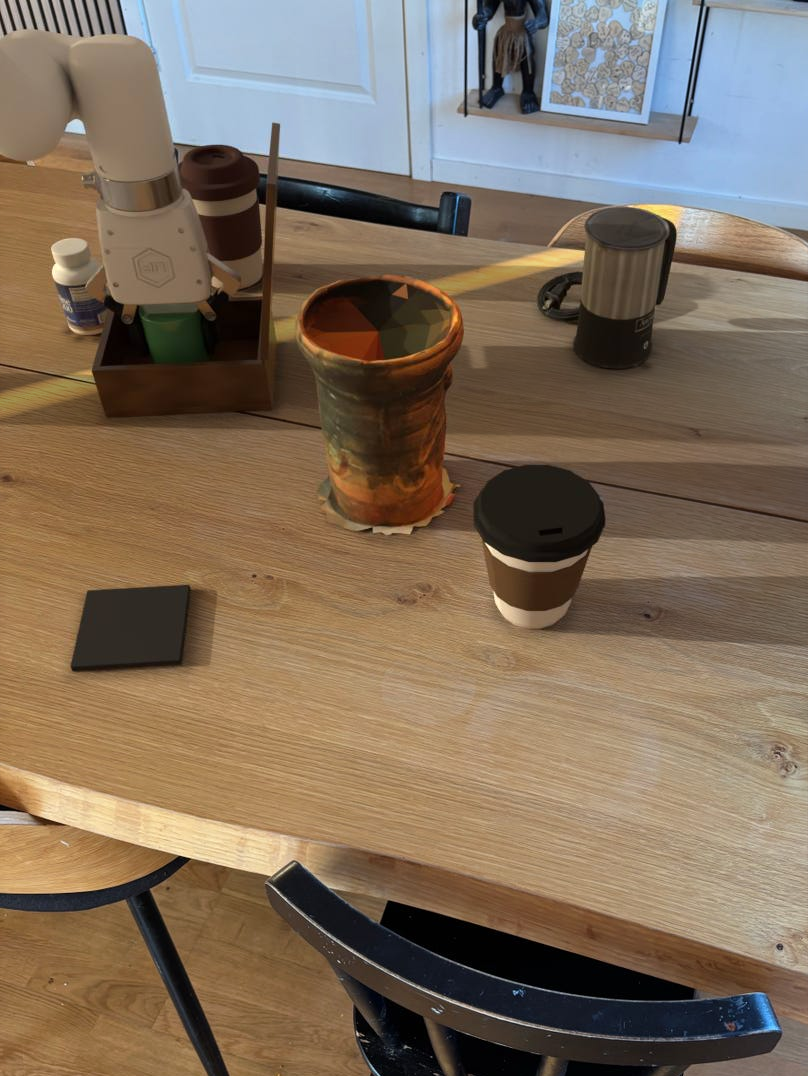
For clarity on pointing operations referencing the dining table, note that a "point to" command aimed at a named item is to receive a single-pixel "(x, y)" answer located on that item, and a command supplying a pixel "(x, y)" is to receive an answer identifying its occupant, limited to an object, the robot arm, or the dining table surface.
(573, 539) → the coffee cup
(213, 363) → the chest
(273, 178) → the lid
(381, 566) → the dining table surface
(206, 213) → the coffee cup
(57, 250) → the pill bottle
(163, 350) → the green cylinder
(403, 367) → the vessel
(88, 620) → the mat
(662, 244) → the milk frother
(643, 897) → the dining table surface
